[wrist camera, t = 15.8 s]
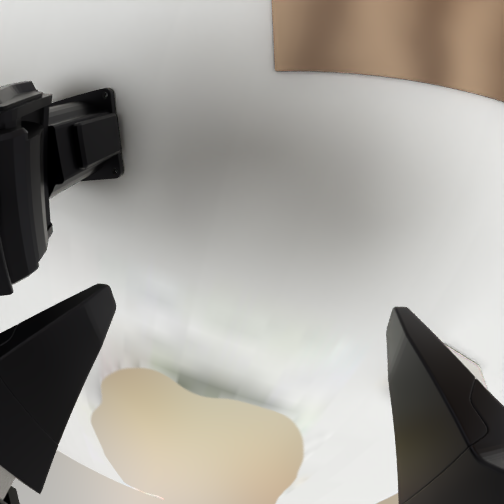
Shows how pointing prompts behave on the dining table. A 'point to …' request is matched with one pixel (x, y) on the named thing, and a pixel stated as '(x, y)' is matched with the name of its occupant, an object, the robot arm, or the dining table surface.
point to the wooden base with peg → (396, 40)
